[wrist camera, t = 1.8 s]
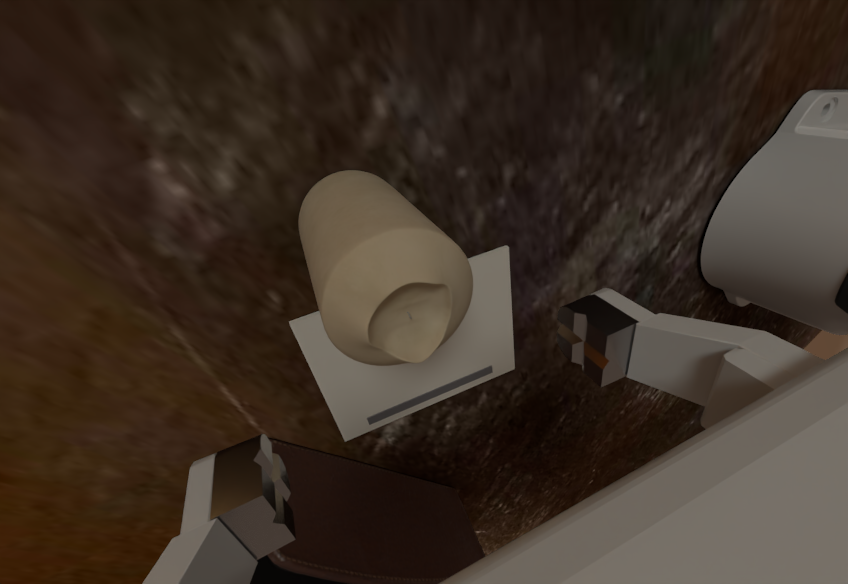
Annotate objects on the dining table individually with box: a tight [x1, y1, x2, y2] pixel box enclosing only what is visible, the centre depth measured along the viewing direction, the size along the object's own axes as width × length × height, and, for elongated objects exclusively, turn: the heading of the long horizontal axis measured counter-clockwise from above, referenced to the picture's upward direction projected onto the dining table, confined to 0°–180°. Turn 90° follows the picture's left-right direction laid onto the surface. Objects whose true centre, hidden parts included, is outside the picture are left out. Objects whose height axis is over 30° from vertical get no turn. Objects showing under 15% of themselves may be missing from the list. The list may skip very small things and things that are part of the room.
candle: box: [299, 170, 473, 366], centre depth 16 cm, size 6×6×10 cm
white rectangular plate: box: [289, 246, 515, 442], centre depth 26 cm, size 14×11×1 cm
